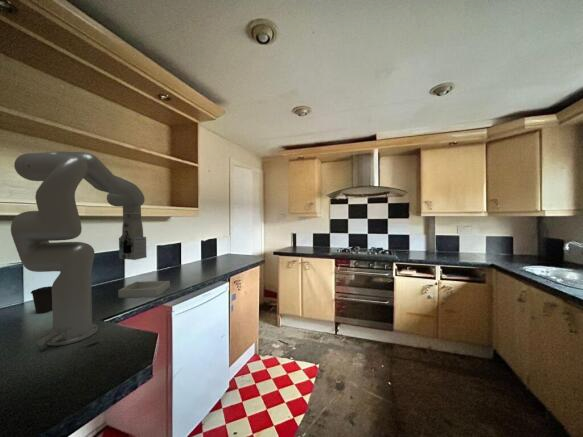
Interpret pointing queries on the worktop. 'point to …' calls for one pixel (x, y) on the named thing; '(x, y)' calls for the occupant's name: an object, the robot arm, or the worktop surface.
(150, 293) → the grey tray
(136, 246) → the light bulb box
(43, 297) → the coffee cup
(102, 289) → the worktop surface
